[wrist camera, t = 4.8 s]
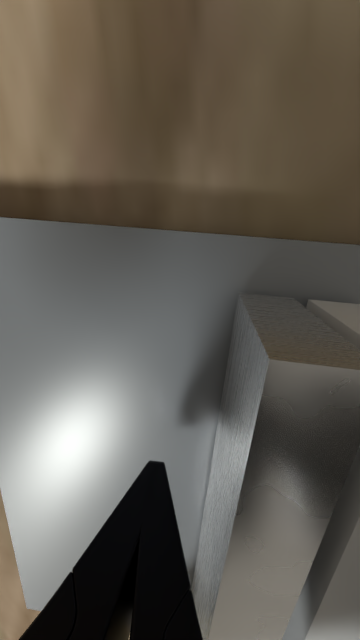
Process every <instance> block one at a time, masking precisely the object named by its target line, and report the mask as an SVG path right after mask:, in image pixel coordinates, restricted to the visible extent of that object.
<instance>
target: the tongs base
mask: <svg viewBox="0 0 360 640" xmlns="http://www.w3.org/2000/svg"><path fill="white" fill-rule="evenodd" d="M238 292H239V293H249V294H259V295H268V296H278V297H288V298H294V299H295V300H297V301H298V302H299V303H300V304H302V305H303V306H304V307H305V308H307V309H308V310H309V311H310V312H312V313H313V314H314V315H315V316H317V317H318V318H319V319H320V320H322V321H323V322H324V323H326V324H327V325H328V326H329V327H331V328H332V329H333V330H334V331H336V332H337V333H338V334H339V335H341V336H342V337H343V338H344V339H346V340H347V341H348V342H349V343H351V344H352V345H353V346H355V347H356V348H357V349H358V350H360V245H354V244H341V243H328V242H315V241H302V240H289V239H276V238H263V237H251V236H238V235H225V234H212V233H199V232H186V231H173V230H160V229H147V228H134V227H122V226H109V225H96V224H83V223H70V222H57V221H44V220H31V219H18V218H5V217H0V489H1V494H2V498H3V503H4V507H5V512H6V516H7V521H8V525H9V530H10V534H11V539H12V543H13V548H14V552H15V557H16V561H17V566H18V570H19V575H20V579H21V584H22V588H23V593H24V597H25V602H26V606H27V608H28V609H33V610H38V611H42V610H43V608H44V607H45V605H46V604H47V603H48V601H49V600H50V599H51V597H52V596H53V595H54V593H55V592H56V591H57V589H58V588H59V587H60V585H61V584H62V582H63V581H64V579H65V578H66V577H67V575H68V574H69V572H72V569H73V567H74V566H75V564H76V563H77V561H78V560H79V558H80V557H81V556H82V554H83V553H84V551H85V550H86V549H87V547H88V546H89V544H90V543H91V541H92V540H93V539H94V537H95V536H96V534H97V533H98V532H99V530H100V529H101V527H102V526H103V525H104V523H105V522H106V520H107V519H108V517H109V516H110V515H111V513H112V512H113V510H114V509H115V508H116V506H117V505H118V503H119V502H120V500H121V499H122V498H123V496H124V495H125V493H126V492H127V491H128V489H129V488H130V486H131V485H132V484H133V482H134V481H135V479H136V478H137V476H138V475H139V474H140V472H141V471H142V469H143V468H144V467H145V465H146V464H147V462H148V461H150V460H152V461H160V462H164V463H165V467H166V471H167V476H168V481H169V486H170V490H171V495H172V500H173V504H174V509H175V514H176V519H177V523H178V528H179V533H180V538H181V542H182V547H183V552H184V556H185V561H186V566H187V571H188V575H189V580H190V585H191V589H192V583H193V576H194V570H195V564H196V557H197V551H198V545H199V538H200V532H201V526H202V520H203V513H204V507H205V501H206V494H207V488H208V482H209V475H210V469H211V463H212V456H213V450H214V444H215V437H216V431H217V425H218V418H219V412H220V406H221V399H222V393H223V387H224V380H225V374H226V368H227V361H228V355H229V349H230V342H231V336H232V330H233V324H234V317H235V311H236V305H237V298H238ZM191 589H190V590H191ZM282 640H360V446H359V449H358V451H357V454H356V456H355V459H354V461H353V464H352V466H351V469H350V471H349V474H348V476H347V479H346V481H345V484H344V486H343V489H342V491H341V494H340V496H339V499H338V501H337V503H336V506H335V508H334V511H333V513H332V516H331V518H330V521H329V523H328V526H327V528H326V531H325V533H324V536H323V538H322V541H321V543H320V546H319V548H318V551H317V553H316V556H315V558H314V561H313V563H312V566H311V568H310V571H309V573H308V576H307V578H306V581H305V583H304V586H303V588H302V591H301V593H300V596H299V598H298V601H297V603H296V606H295V608H294V611H293V613H292V615H291V618H290V620H289V623H288V625H287V628H286V630H285V633H284V635H283V638H282Z"/></svg>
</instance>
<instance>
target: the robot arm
mask: <svg viewBox="0 0 360 640" xmlns="http://www.w3.org/2000/svg"><path fill="white" fill-rule="evenodd" d="M190 589H191V585H190V580H189V575H188V571H187V566H186V561H185V556H184V552H183V547H182V542H181V538H180V533H179V528H178V523H177V519H176V514H175V509H174V504H173V500H172V495H171V490H170V486H169V481H168V476H167V471H166V467H165V463H164V462H160V461H152V460H150V461H148V462H147V464H146V465H145V467H144V468H143V469H142V471H141V472H140V474H139V475H138V476H137V478H136V479H135V481H134V482H133V484H132V485H131V486H130V488H129V489H128V491H127V492H126V493H125V495H124V496H123V498H122V499H121V500H120V502H119V503H118V505H117V506H116V508H115V509H114V510H113V512H112V513H111V515H110V516H109V517H108V519H107V520H106V522H105V523H104V525H103V526H102V527H101V529H100V530H99V532H98V533H97V534H96V536H95V537H94V539H93V540H92V541H91V543H90V544H89V546H88V547H87V549H86V550H85V551H84V553H83V554H82V556H81V557H80V558H79V560H78V561H77V563H76V564H75V566H74V567H73V569H72V572H69V574H68V575H67V577H66V578H65V579H64V581H63V582H62V584H61V585H60V587H59V588H58V589H57V591H56V592H55V593H54V595H53V596H52V597H51V599H50V600H49V601H48V603H47V604H46V605H45V607H44V608H43V610H42V611H41V612H40V614H39V615H38V616H37V617H36V619H35V620H34V621H33V622H32V624H31V625H30V626H29V627H28V629H27V630H26V631H25V632H24V634H23V635H22V636H21V637H20V639H19V640H128V638H129V634H130V640H203V638H202V633H201V629H200V625H199V621H198V617H197V612H196V608H195V603H194V598H193V594H192V590H190Z"/></svg>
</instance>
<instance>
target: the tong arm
mask: <svg viewBox="0 0 360 640" xmlns="http://www.w3.org/2000/svg"><path fill="white" fill-rule="evenodd" d="M359 446H360V350H358V349H357V348H356V347H355V346H353V345H352V344H351V343H349V342H348V341H347V340H346V339H344V338H343V337H342V336H341V335H339V334H338V333H337V332H336V331H334V330H333V329H332V328H331V327H329V326H328V325H327V324H326V323H324V322H323V321H322V320H320V319H319V318H318V317H317V316H315V315H314V314H313V313H312V312H310V311H309V310H308V309H307V308H305V307H304V306H303V305H302V304H300V303H299V302H298V301H297V300H295V299H294V298H288V297H278V296H268V295H259V294H249V293H239V292H238V298H237V305H236V311H235V317H234V324H233V330H232V336H231V342H230V349H229V355H228V361H227V368H226V374H225V380H224V387H223V393H222V399H221V406H220V412H219V418H218V425H217V431H216V437H215V444H214V450H213V456H212V463H211V469H210V475H209V482H208V488H207V494H206V501H205V507H204V513H203V520H202V526H201V532H200V538H199V545H198V551H197V557H196V564H195V570H194V576H193V583H192V589H191V590H192V594H193V598H194V603H195V608H196V612H197V617H198V621H199V625H200V629H201V633H202V638H203V640H282V638H283V635H284V633H285V630H286V628H287V625H288V623H289V620H290V618H291V615H292V613H293V611H294V608H295V606H296V603H297V601H298V598H299V596H300V593H301V591H302V588H303V586H304V583H305V581H306V578H307V576H308V573H309V571H310V568H311V566H312V563H313V561H314V558H315V556H316V553H317V551H318V548H319V546H320V543H321V541H322V538H323V536H324V533H325V531H326V528H327V526H328V523H329V521H330V518H331V516H332V513H333V511H334V508H335V506H336V503H337V501H338V499H339V496H340V494H341V491H342V489H343V486H344V484H345V481H346V479H347V476H348V474H349V471H350V469H351V466H352V464H353V461H354V459H355V456H356V454H357V451H358V449H359Z"/></svg>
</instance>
